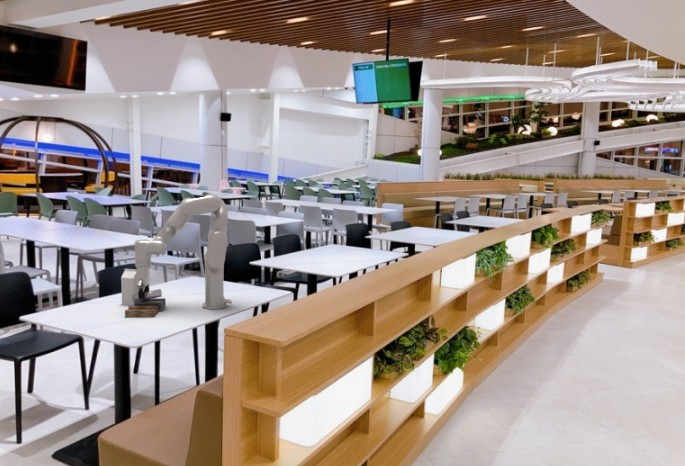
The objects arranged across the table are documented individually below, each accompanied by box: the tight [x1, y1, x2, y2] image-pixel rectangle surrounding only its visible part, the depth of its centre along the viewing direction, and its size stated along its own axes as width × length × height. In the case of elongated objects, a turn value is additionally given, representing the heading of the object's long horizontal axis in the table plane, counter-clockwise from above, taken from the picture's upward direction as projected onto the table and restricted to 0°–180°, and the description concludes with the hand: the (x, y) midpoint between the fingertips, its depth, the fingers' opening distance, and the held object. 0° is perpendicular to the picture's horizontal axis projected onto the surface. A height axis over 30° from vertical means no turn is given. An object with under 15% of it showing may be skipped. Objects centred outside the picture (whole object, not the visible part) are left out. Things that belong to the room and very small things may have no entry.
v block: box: [134, 297, 167, 313], centre depth 299 cm, size 14×8×5 cm, turn 96°
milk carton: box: [120, 268, 138, 307], centre depth 308 cm, size 7×7×19 cm
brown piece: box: [124, 305, 159, 318], centre depth 289 cm, size 14×8×4 cm, turn 96°
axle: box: [132, 288, 163, 302], centre depth 299 cm, size 14×4×4 cm, turn 95°
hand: (143, 296), depth 298 cm, fingers open, 9 cm apart
